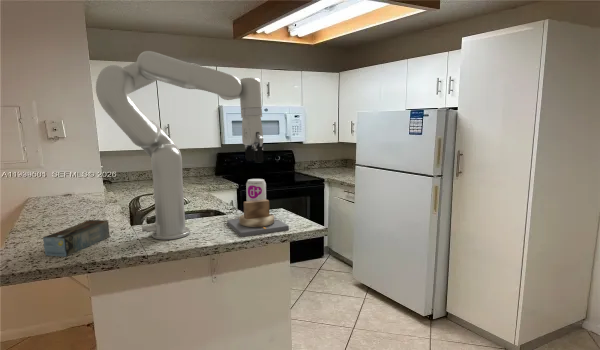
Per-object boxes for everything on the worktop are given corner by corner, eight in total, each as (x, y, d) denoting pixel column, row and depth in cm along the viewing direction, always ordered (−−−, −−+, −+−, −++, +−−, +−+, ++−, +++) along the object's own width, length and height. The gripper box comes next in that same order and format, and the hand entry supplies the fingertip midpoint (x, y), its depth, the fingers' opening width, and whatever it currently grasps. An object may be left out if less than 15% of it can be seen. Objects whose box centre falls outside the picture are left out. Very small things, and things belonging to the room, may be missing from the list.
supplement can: (263, 217, 148) (262, 181, 146) (244, 216, 149) (243, 181, 147) (268, 212, 156) (268, 178, 153) (250, 211, 157) (249, 178, 155)
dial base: (241, 236, 123) (241, 232, 123) (227, 223, 139) (227, 219, 138) (288, 229, 131) (288, 225, 130) (270, 218, 147) (270, 214, 146)
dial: (245, 228, 126) (245, 206, 125) (235, 220, 137) (234, 199, 136) (279, 224, 132) (279, 202, 130) (266, 216, 143) (266, 196, 142)
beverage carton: (43, 256, 107) (40, 234, 106) (91, 236, 125) (89, 218, 124) (66, 257, 105) (64, 236, 104) (111, 237, 124) (109, 219, 123)
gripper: (234, 114, 135) (237, 159, 138) (249, 113, 120) (252, 163, 122) (253, 113, 138) (255, 157, 141) (270, 112, 123) (273, 161, 126)
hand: (254, 160), depth 132 cm, fingers open, 9 cm apart
